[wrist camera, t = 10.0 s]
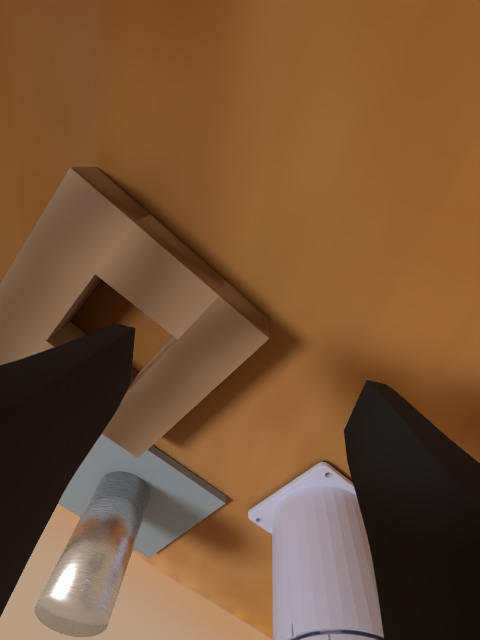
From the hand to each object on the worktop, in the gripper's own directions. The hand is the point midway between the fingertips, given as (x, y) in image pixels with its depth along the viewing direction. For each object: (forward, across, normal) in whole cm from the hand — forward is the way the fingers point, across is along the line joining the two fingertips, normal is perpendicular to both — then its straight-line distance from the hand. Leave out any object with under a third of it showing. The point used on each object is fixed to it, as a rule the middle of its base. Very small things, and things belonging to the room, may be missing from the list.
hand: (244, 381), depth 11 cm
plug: (+9, +6, +18) cm, 21 cm away
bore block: (+9, +7, +4) cm, 12 cm away
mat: (+9, +6, +18) cm, 22 cm away
